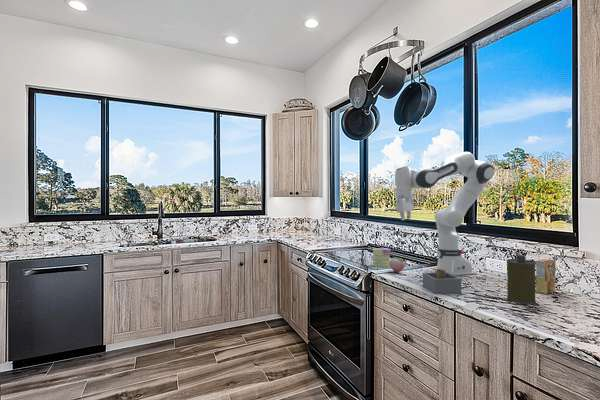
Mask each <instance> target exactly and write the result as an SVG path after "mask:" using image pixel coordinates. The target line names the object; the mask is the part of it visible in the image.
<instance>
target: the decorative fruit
mask: <svg viewBox="0 0 600 400" xmlns="http://www.w3.org/2000/svg"><path fill="white" fill-rule="evenodd" d="M405 266H406V261H404V259H402V258H401V257H397V256H394V257H391V259H390V267H389V268H390V269H391V270H393V272H396V273H399V272H401V271H403V270H404V269H405V268H406V267H405Z"/></svg>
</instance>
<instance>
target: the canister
mask: <svg viewBox="0 0 600 400" xmlns="http://www.w3.org/2000/svg"><path fill="white" fill-rule="evenodd" d="M506 264H507V265H506V267H507V268H506V270H507V272H506V273H507V275H506V277H507V278H506V279H507V282H506V283H507V297H506V299H507V300H509V301H510V302H513V303H515V304H516V303H517V304H522V305H535V304H536V303H537V300H536V261H532V260H528V259H527V257H526V255H525V254H516V256H515V258H510V259H509V258H508V259H506Z"/></svg>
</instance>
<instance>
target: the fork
mask: <svg viewBox="0 0 600 400" xmlns="http://www.w3.org/2000/svg"><path fill="white" fill-rule="evenodd" d="M406 263H407V265H408V264H409V265H414V266H417V265H418V264H417V263H414V262H413V263H412V262H411V261H409V260H407V261H405V264H406ZM424 267H425V269H427V267H426V266H424Z"/></svg>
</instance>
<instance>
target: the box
mask: <svg viewBox="0 0 600 400" xmlns="http://www.w3.org/2000/svg"><path fill="white" fill-rule="evenodd" d="M390 257H391V256H390V249H389V247H388V248H386V247H384V248H382V247H379V248H378V247H377V248H375V247H373V248H372V266H373V267H379V268H380V267H382V268H385V267H386V268H391V267H390V261H391V259H390Z"/></svg>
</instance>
